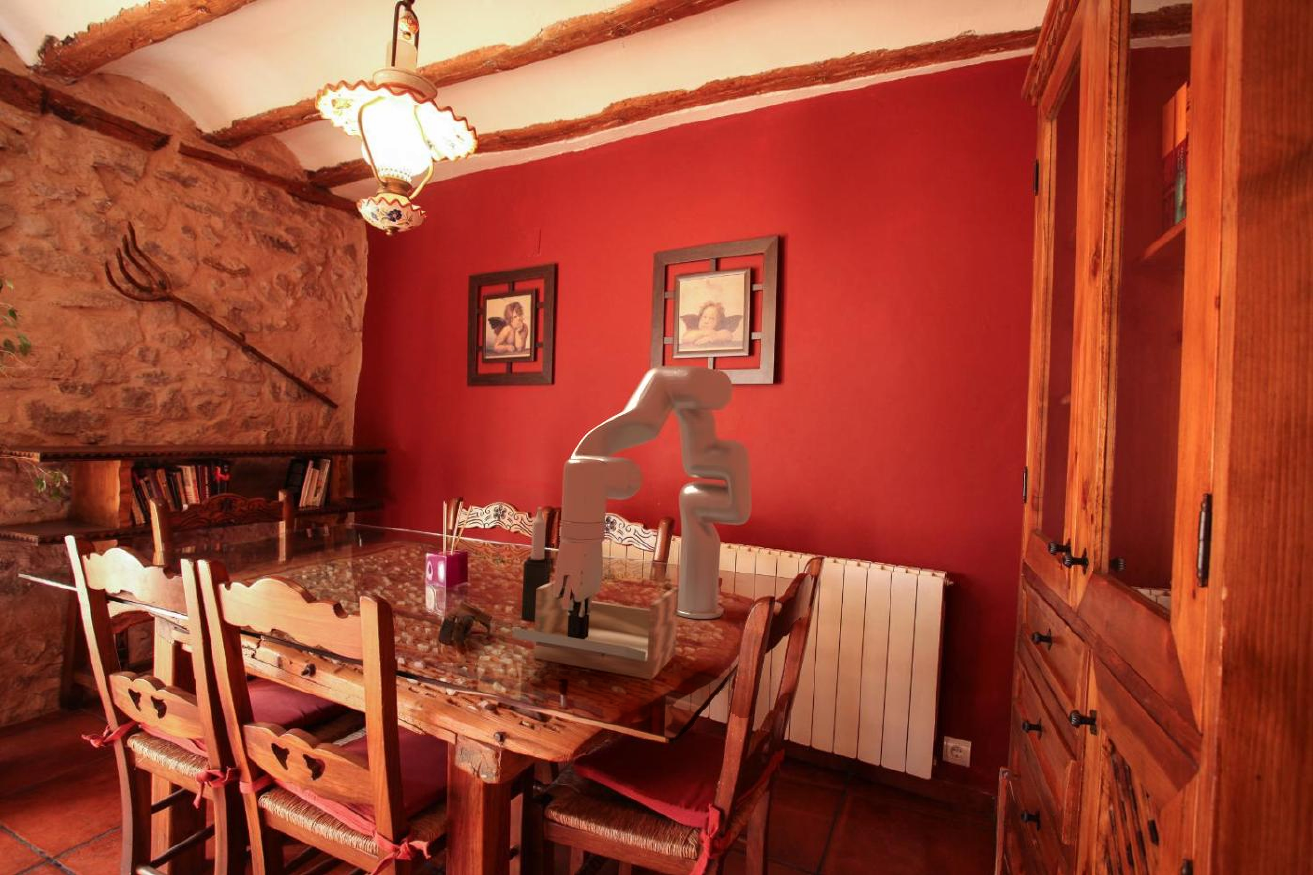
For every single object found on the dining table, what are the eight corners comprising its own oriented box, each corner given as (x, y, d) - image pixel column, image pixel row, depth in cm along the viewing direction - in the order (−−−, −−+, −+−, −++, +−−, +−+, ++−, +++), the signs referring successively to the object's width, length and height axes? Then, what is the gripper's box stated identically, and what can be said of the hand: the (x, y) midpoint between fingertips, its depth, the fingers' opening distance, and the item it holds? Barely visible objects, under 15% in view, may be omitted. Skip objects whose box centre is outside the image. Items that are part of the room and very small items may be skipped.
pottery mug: (435, 635, 128) (457, 597, 131) (477, 655, 129) (497, 618, 132) (430, 638, 117) (454, 598, 120) (476, 661, 118) (498, 620, 121)
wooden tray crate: (567, 636, 130) (570, 573, 130) (675, 654, 122) (678, 587, 122) (533, 658, 117) (536, 588, 117) (651, 679, 109) (655, 605, 109)
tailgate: (541, 634, 116) (514, 627, 107) (646, 652, 110) (626, 646, 100) (539, 646, 116) (511, 640, 106) (643, 664, 109) (623, 660, 100)
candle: (541, 621, 138) (546, 509, 138) (519, 619, 139) (524, 507, 139) (549, 615, 143) (554, 506, 143) (528, 613, 144) (533, 504, 144)
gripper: (582, 523, 115) (577, 622, 115) (541, 534, 101) (536, 647, 101) (619, 527, 113) (614, 628, 113) (583, 539, 99) (578, 655, 99)
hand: (577, 637), depth 107 cm, fingers closed
